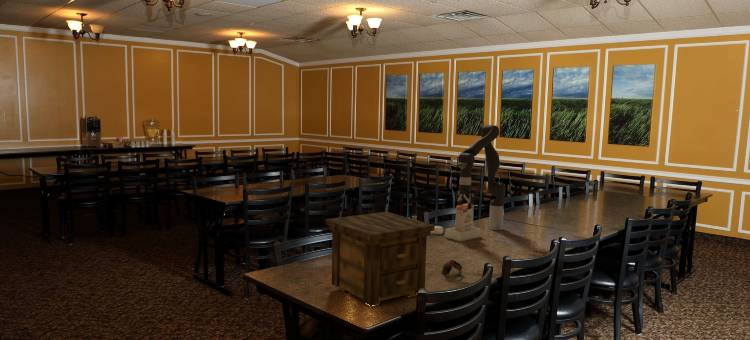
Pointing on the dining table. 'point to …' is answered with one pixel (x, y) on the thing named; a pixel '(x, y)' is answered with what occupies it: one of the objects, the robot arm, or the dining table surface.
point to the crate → (378, 255)
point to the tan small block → (437, 230)
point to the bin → (462, 234)
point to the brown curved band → (448, 267)
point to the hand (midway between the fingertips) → (464, 208)
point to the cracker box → (463, 218)
